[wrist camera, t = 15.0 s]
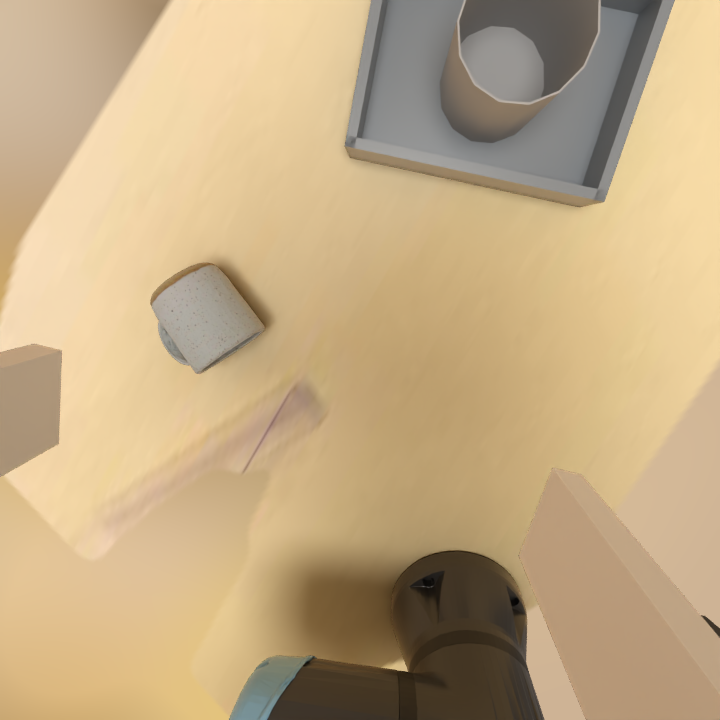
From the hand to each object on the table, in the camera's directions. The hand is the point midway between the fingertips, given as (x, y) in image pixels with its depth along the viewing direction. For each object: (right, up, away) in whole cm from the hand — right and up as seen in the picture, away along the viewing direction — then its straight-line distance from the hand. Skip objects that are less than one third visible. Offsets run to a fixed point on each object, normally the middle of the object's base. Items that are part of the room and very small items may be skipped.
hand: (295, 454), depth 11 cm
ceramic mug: (-13, +6, +32) cm, 35 cm away
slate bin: (+13, +25, +25) cm, 38 cm away
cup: (+13, +25, +24) cm, 37 cm away
